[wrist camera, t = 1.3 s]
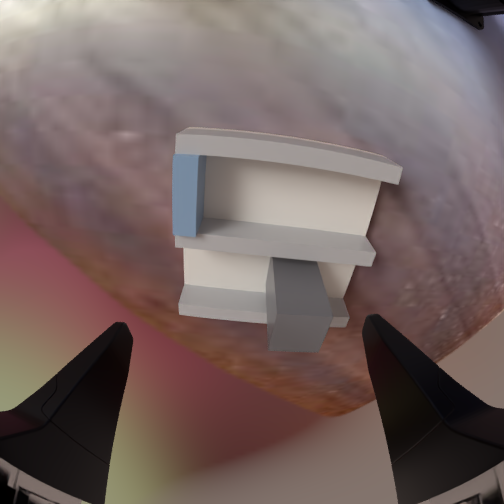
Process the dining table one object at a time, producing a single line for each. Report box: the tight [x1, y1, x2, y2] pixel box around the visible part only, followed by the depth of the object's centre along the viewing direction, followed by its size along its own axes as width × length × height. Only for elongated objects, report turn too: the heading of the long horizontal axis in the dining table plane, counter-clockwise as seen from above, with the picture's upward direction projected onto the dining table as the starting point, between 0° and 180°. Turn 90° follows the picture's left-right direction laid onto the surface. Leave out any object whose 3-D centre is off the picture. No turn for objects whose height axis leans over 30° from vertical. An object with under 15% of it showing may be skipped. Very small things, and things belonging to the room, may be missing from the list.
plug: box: [266, 257, 333, 352], centre depth 20 cm, size 3×3×7 cm
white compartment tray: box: [172, 127, 403, 327], centre depth 20 cm, size 14×14×4 cm
